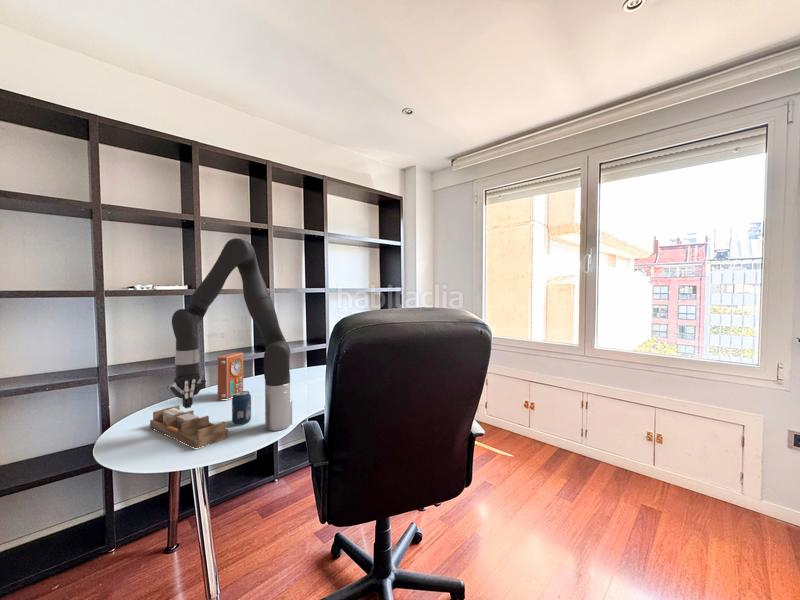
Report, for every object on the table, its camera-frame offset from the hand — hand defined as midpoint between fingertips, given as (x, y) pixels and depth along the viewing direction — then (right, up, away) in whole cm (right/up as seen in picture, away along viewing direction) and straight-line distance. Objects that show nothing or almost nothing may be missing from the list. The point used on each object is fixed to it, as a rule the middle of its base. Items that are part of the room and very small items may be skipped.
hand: (187, 407), depth 121 cm
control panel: (-7, -9, +43) cm, 45 cm away
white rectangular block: (0, -9, 0) cm, 9 cm away
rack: (0, -10, 0) cm, 10 cm away
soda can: (+15, -10, +10) cm, 21 cm away
